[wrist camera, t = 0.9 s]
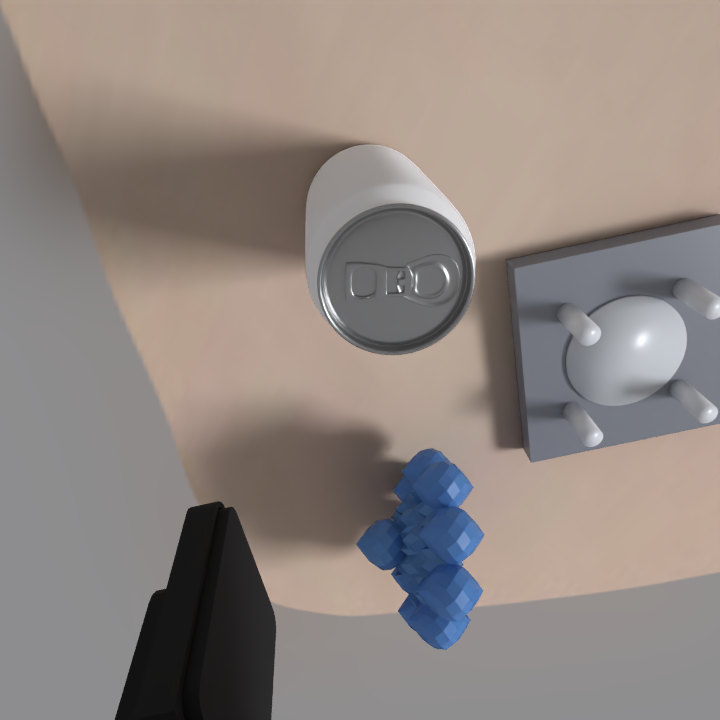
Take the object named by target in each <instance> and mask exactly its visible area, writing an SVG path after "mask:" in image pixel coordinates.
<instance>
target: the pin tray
mask: <svg viewBox="0 0 720 720" xmlns="http://www.w3.org/2000/svg"><path fill="white" fill-rule="evenodd" d="M506 263H507V274H508V285H509V295H510V306H511V317H512V328H513V339H514V350H515V360H516V371H517V382H518V393H519V404H520V415H521V425H522V436H523V447H524V450H525V452H526V454H527V456H528V458H529V460H530V461H531V462H536V461H541V460H546V459H551V458H556V457H560V456H565V455H570V454H575V453H580V452H584V451H589V450H594V449H599V448H604V447H609V446H613V445H618V444H623V443H628V442H633V441H638V440H642V439H647V438H652V437H657V436H662V435H667V434H671V433H676V432H681V431H686V430H691V429H696V428H700V427H705V426H710V425H715V424H720V214H719V215H715V216H710V217H705V218H701V219H696V220H691V221H687V222H682V223H677V224H673V225H668V226H663V227H659V228H654V229H649V230H645V231H640V232H635V233H631V234H626V235H621V236H617V237H612V238H607V239H603V240H598V241H593V242H589V243H584V244H579V245H575V246H570V247H565V248H561V249H556V250H551V251H547V252H542V253H537V254H533V255H528V256H523V257H519V258H514V259H509V260H506Z"/></svg>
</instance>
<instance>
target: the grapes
mask: <svg viewBox="0 0 720 720" xmlns="http://www.w3.org/2000/svg"><path fill="white" fill-rule="evenodd" d="M402 474H403V475H404V477H403V478H402V479H401V481H400V482H399V483H398V484H397V486H396V487H395V488H394V490H393V491H394V492H395V493H396V495H397V496H398V498H399V499H400V500H401V501H402V503H401V504H400V505H399V506H398V507H397V508H396V512H395V513H394V515H393V516H392V519H393V520H394V521H392V520H391V519H384V520H379V521H376V522H375V523H374V524H373V525H372V526H370V527H369V528H368V530H367V531H366V532H365V533H364V534H363V536H362V537H361V538H360V540H359V541H358V542H357V546H358V547H359V549H360V550H361V551H362V552H363V554H364V555H365V556H366V558H367V559H368V560H369V561H370V562H371V563H373V564H374V565H376V566H377V567H379V568H380V569H382V570H391V569H393V568H395V567H396V568H395V569H394V571H393V572H392V574H391V575H392V576H393V578H394V579H395V580H396V582H397V583H398V584H399V585H400V587H401V588H402V589H403V590H404V591H406V592H407V593H409V595H408V597H407V598H406V600H405V601H404V602H403V604H402V605H401V607H400V608H399V610H398V612H399V613H400V614H401V615H402V617H403V618H404V619H405V621H406V622H407V623H408V625H409V626H410V627H411V628H412V629H413V630H415V631H416V632H417V633H418V634H419V635H420V637H421V638H422V639H423V640H424V641H426V642H427V643H428V644H429V645H431V646H432V647H434V648H436V649H448V648H449V647H450V646H452V645H453V644H454V643H455V642H456V641H457V640H459V638H460V637H461V635H462V634H463V632H464V631H465V629H466V628H467V626H468V624H469V622H470V619H469V617H468V616H467V614H468V613H469V612H470V611H471V610H472V609H473V607H474V606H475V604H476V603H477V601H478V600H479V598H480V596H481V594H482V592H483V590H482V588H481V587H480V585H479V584H478V583H477V581H476V580H475V579H474V578H473V577H472V575H471V574H470V573H469V572H468V571H467V570H466V569H465V568H463V567H462V566H463V563H462V561H463V560H465V559H466V558H467V557H468V556H470V555H471V554H472V553H473V552H474V550H475V549H476V547H477V546H478V545H479V543H480V541H481V540H482V538H483V536H484V533H483V532H482V530H481V529H480V528H479V526H478V525H477V524H476V523H475V522H474V520H473V519H472V518H471V517H470V516H469V515H468V514H467V513H466V512H465V511H464V510H462V509H460V508H458V507H459V506H460V505H461V504H462V503H463V502H464V500H465V499H466V497H467V496H468V495H469V493H470V492H471V490H472V489H473V486H472V484H471V483H470V482H469V480H468V479H467V477H466V476H465V475H464V474H463V473H462V472H461V471H460V470H459V469H458V467H457V466H456V465H455V464H452V463H451V462H450V461H449V460H448V459H447V458H446V457H445V456H444V455H443V454H442V453H441V452H440V451H437V450H435V449H433V448H432V449H426V450H422V451H420V452H419V453H417V454H416V455H415V456H414V457H413V458H412V459H411V460H410V462H409V463H408V464H407V465H406V467H405V468H404V469H403V471H402Z"/></svg>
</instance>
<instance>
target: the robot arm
mask: <svg viewBox="0 0 720 720" xmlns="http://www.w3.org/2000/svg"><path fill="white" fill-rule="evenodd" d="M275 640H276V622H275V615H274V611H273V608H272V605H271V603H270V600H269V597H268V595H267V592H266V589H265V587H264V584H263V581H262V579H261V576H260V574H259V571H258V568H257V566H256V563H255V560H254V558H253V555H252V552H251V550H250V547H249V544H248V542H247V539H246V537H245V534H244V531H243V529H242V526H241V523H240V521H239V518H238V515H237V513H236V511H235V509H234V508H233V507H229V508H225V507H224V505H223V504H222V502H219V501H218V502H214V503H209V504H204V505H200V506H195V507H191V508H189V509H188V511H187V514H186V517H185V521H184V525H183V529H182V532H181V536H180V540H179V543H178V547H177V551H176V555H175V559H174V562H173V566H172V570H171V573H170V577H169V581H168V585H167V588H166V589H163V590H158V591H156V592H155V593H154V594H153V595H152V597H151V599H150V602H149V604H148V608H147V611H146V615H145V618H144V622H143V625H142V628H141V632H140V635H139V639H138V642H137V646H136V649H135V652H134V656H133V659H132V663H131V666H130V669H129V673H128V676H127V680H126V683H125V687H124V690H123V693H122V697H121V700H120V703H119V707H118V710H117V714H116V717H115V720H271V712H272V694H273V676H274V658H275Z"/></svg>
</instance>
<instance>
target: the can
mask: <svg viewBox="0 0 720 720" xmlns="http://www.w3.org/2000/svg"><path fill="white" fill-rule="evenodd" d="M475 263H476V259H475V249H474V244H473V240H472V237H471V234H470V231H469V229H468V227H467V225H466V223H465V221H464V219H463V218H462V216H461V215H460V213H459V212H458V211H457V209H456V208H455V207H454V206H453V204H452V203H451V202H450V201H449V200H448V199H447V198H446V197H445V196H444V194H443V193H442V192H441V191H440V190H439V189H438V188H437V187H436V186H435V185H434V184H433V183H432V182H431V181H430V180H429V178H428V177H427V176H426V175H425V174H424V173H423V172H422V171H421V170H420V169H419V168H418V167H417V166H416V165H415V164H414V163H413V162H412V161H411V160H409V159H408V158H407V157H406V156H404V155H403V154H401V153H400V152H398V151H396V150H394V149H391V148H388V147H385V146H381V145H373V144H366V145H358V146H353V147H350V148H347V149H345V150H343V151H341V152H339V153H337V154H335V155H334V156H333V157H331V158H330V159H329V160H328V161H327V162H326V163H325V164H324V165H323V166H322V167H321V168H320V169H319V171H318V172H317V174H316V175H315V177H314V179H313V181H312V183H311V186H310V188H309V192H308V196H307V202H306V222H305V268H306V278H307V284H308V288H309V291H310V294H311V297H312V299H313V301H314V304H315V305H316V307H317V309H318V311H319V312H320V314H321V315H322V316H323V318H324V319H325V320H326V321H327V322H328V323H329V324H330V325H331V326H332V327H333V328H334V330H335V331H336V332H337V333H338V334H339V335H340V336H341V337H343V338H344V339H345V340H346V341H348V342H349V343H351V344H353V345H354V346H356V347H358V348H361V349H363V350H366V351H369V352H372V353H377V354H383V355H401V354H408V353H412V352H416V351H419V350H422V349H424V348H427V347H429V346H431V345H433V344H434V343H436V342H438V341H439V340H441V339H442V338H443V337H445V336H446V335H447V334H448V333H449V332H450V331H451V330H452V329H453V328H454V327H455V326H456V325H457V324H458V323H459V321H460V320H461V318H462V317H463V315H464V314H465V312H466V310H467V308H468V306H469V304H470V301H471V298H472V295H473V291H474V285H475Z"/></svg>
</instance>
